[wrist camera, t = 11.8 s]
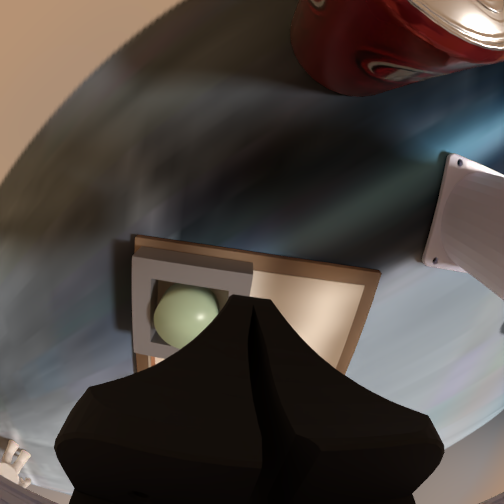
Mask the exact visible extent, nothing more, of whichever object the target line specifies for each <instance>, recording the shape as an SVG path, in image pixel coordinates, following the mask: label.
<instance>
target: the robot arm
mask: <svg viewBox="0 0 504 504" xmlns="http://www.w3.org/2000/svg"><path fill="white" fill-rule="evenodd" d="M458 160H459V161H460V164H459V166H458V164H457V161H458ZM435 257H436V260H435V261H434V262H433V259H434V258H435ZM422 262H423V263H424V264H425V265H426V266H429V267H435V268H441V269H447V270H453V271H458V272H464V273H469V274H470V275H472V276H473V277H474V278H476V279H477V280H478V281H480V282H481V283H482V284H484V285H485V286H486V287H487V288H489V289H490V290H491V291H493V292H494V293H495V294H496V295H498V296H499V297H500V298H501V299H503V300H504V175H503V174H501V173H499V172H497V171H495V170H492V169H490V168H488V167H486V166H484V165H481V164H479V163H477V162H474V161H472V160H470V159H467V158H465V157H462V156H460V155H457V154H454V153H450V154H449V155H448V156H447V159H446V164H445V169H444V174H443V179H442V184H441V189H440V193H439V197H438V202H437V206H436V210H435V214H434V218H433V222H432V225H431V229H430V233H429V236H428V240H427V243H426V247H425V250H424V253H423V257H422ZM54 449H55V452H56V455H57V458H58V460H59V462H60V464H61V466H62V468H63V469H64V471H65V473H66V475H67V476H68V478H69V480H70V481H71V483H72V485H73V486H74V488H75V489H74V491H73V494H72V497H71V499H70V502H69V504H415V500H414V498H413V495H412V493H413V492H414V491H415V490H416V489H417V488H418V487H419V486H420V485H421V484H422V483H423V482H424V481H425V480H426V479H427V478H428V477H429V476H430V475H431V474H432V473H433V472H434V470H435V469H436V468H437V466H438V465H439V464H440V462H441V459H442V457H443V454H444V445H443V443H442V441H441V439H440V437H439V435H438V433H437V431H436V429H435V427H434V425H433V423H432V421H431V420H430V418H429V416H428V415H425V414H422V413H420V412H417V411H414V410H412V409H409V408H406V407H404V406H401V405H398V404H396V403H394V402H391V401H389V400H387V399H385V398H383V397H381V396H379V395H377V394H375V393H373V392H371V391H369V390H368V389H366V388H364V387H362V386H361V385H359V384H357V383H356V382H354V381H353V380H351V379H350V378H348V377H347V376H345V375H344V374H342V373H341V372H339V371H338V370H337V369H335V368H334V367H333V366H331V365H330V364H329V363H328V362H327V361H325V360H324V359H323V358H322V357H321V356H319V355H318V354H317V353H316V352H315V351H314V350H313V349H312V348H311V347H310V346H309V345H308V344H307V343H306V342H305V341H304V340H303V339H302V338H301V337H300V336H299V335H298V334H297V332H296V331H295V330H294V329H293V328H292V327H291V325H290V324H289V323H288V322H287V320H286V319H285V318H284V316H283V315H282V314H281V312H280V311H279V310H278V308H277V307H276V306H275V304H274V303H273V302H272V300H271V299H264V298H257V297H250V296H243V295H235V294H232V295H231V296H229V298H228V300H227V302H226V304H225V305H224V307H223V308H222V310H221V311H220V312H219V313H218V315H217V316H216V317H215V318H214V319H213V321H212V322H211V323H210V324H209V325H208V326H207V327H206V328H205V329H204V330H203V331H202V332H201V333H200V334H199V335H198V336H197V337H195V338H194V339H193V340H192V341H191V342H189V343H188V344H187V345H185V346H184V347H183V348H181V349H180V350H179V351H177V352H176V353H174V354H172V355H171V356H169V357H168V358H166V359H164V360H163V361H161V362H159V363H157V364H155V365H153V366H151V367H149V368H147V369H145V370H142V371H140V372H137V373H135V374H132V375H129V376H127V377H124V378H120V379H117V380H114V381H110V382H106V383H103V384H99V385H95V386H91V387H89V388H88V389H87V390H86V392H85V393H84V394H83V396H82V397H81V398H80V399H79V400H78V402H77V403H76V405H75V406H74V407H73V409H72V410H71V412H70V414H69V415H68V417H67V419H66V421H65V423H64V425H63V427H62V428H61V430H60V432H59V434H58V436H57V438H56V440H55V445H54ZM0 504H57V503H55V502H53V501H51V500H48V499H46V498H44V497H42V496H40V495H38V494H35V493H33V492H31V491H29V490H27V489H26V488H24V487H22V486H20V485H18V484H16V483H14V482H12V481H11V480H9V479H7V478H5V477H3V476H2V475H0ZM479 504H504V492H503V493H501V494H499V495H497V496H495V497H493V498H491V499H488V500H486V501H484V502H482V503H479Z"/></svg>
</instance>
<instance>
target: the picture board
mask: <svg viewBox="0 0 504 504" xmlns="http://www.w3.org/2000/svg"><path fill="white" fill-rule="evenodd" d="M141 246H144V247H150V248H157V249H163V250H170V251H177V252H183V253H190V254H197V255H203V256H210V257H217V258H223V259H230V260H237V261H244V262H251V263H253V279H252V285H251V291H250V297H257V298H264V299H271V300H272V302H273V303H274V304H275V306H276V307H277V308H278V310H279V311H280V312H281V314H282V315H283V316H284V318H285V319H286V320H287V322H288V323H289V324H290V325H291V327H292V328H293V329H294V330H295V331H296V332H297V334H298V335H299V336H300V337H301V338H302V339H303V340H304V341H305V342H306V343H307V344H308V345H309V346H310V347H311V348H312V349H313V350H314V351H315V352H316V353H317V354H318V355H319V356H321V357H322V358H323V359H324V360H325V361H327V362H328V363H329V364H330V365H331V366H333V367H334V368H335V369H337V370H338V371H339V372H341V373H342V374H344V375H345V373H346V371H347V368H348V366H349V363H350V361H351V358H352V356H353V353H354V351H355V348H356V346H357V343H358V340H359V338H360V335H361V332H362V330H363V327H364V324H365V321H366V319H367V316H368V313H369V310H370V307H371V304H372V301H373V298H374V295H375V292H376V289H377V286H378V283H379V280H380V277H381V272H380V271H379V270H374V269H367V268H361V267H354V266H347V265H340V264H333V263H327V262H320V261H313V260H306V259H300V258H293V257H286V256H279V255H272V254H266V253H259V252H252V251H245V250H239V249H232V248H225V247H218V246H211V245H205V244H198V243H191V242H184V241H177V240H171V239H164V238H157V237H150V236H143V235H137V236H136V237H135V253H136V251H137V250H138V249H139V248H140V247H141ZM173 284H175V282H169V281H163V280H158V301H157V306H158V304H159V302H160V301H161V299H162V297H163V295H164V293H165V291H166V290H167V289H168V288H169V287H170V286H172V285H173ZM209 289H210V290H211V291H212V292H213V293H214V295H215V296H216V298H217V300H218V302H219V306H220V311H221V310H222V308H223V307H224V305H225V304H226V302H227V300H228V294H229V291H227V290H220V289H213V288H209ZM163 360H164V359H163V358H158V357H153V356H148V355H143V354H138V353H136V361H137V372H140V371H142V370H145V369H147V368H149V367H151V366H153V365H155V364H157V363H159V362H161V361H163Z"/></svg>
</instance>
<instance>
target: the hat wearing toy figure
mask: <svg viewBox="0 0 504 504" xmlns="http://www.w3.org/2000/svg"><path fill="white" fill-rule="evenodd" d="M18 448H19V445H18V444H17V443H16V442H15V441H13V440H9V441H8V446H7V448H6V451H5V453H4V455H3V457H2V460H1V463H0V475H2V476H3V477H5V478H7V479H9V480H11V481H12V482H14V483H16V484H18V483H19V476H18V474H19V473H20V470H21V469H22V467H23V465H24V464H25V463H26V461H27V460H28V459H29V458H30V456H31V455H30V454H29V453H28V452H27V451H25V450H23V449H22V450H21V452H20V454H19V456H18V458H17V460H16V461H15V462H14V463H13V464H11V460H12V456H13V454H14V453H15V452H16V450H17V449H18ZM20 481H21V483H20V484H18V485H20V486H22V487H24V488H26V487H27V486H28V485H30V484H31V479H30V478H28V480H27V478H25V480H23V479H22V477H21V478H20Z"/></svg>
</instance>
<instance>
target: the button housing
mask: <svg viewBox="0 0 504 504" xmlns="http://www.w3.org/2000/svg"><path fill="white" fill-rule="evenodd" d="M252 279H253V263H251V262H244V261H237V260H230V259H223V258H217V257H210V256H203V255H197V254H190V253H183V252H177V251H170V250H163V249H157V248H150V247H144V246H141V247H140V248H139V249H138V250H137V251H136V253H135V254H134V255H133V256H132V324H133V345H134V353H138V354H143V355H148V356H153V357H158V358H163V359H166V358H168V357H169V356H171V355H172V354H174V353H176V352H177V351H179V350H180V349H178V348H175V347H173V346H171V345H169V344H168V343H166V342H165V341H164V340H163V339H162V338H161V337H160V336H159V334H158V333H157V331H156V329H155V326H154V313H155V310H156V308H157V301H158V280H163V281H169V282H175V283H181V284H187V285H194V286H200V287H207V288H213V289H220V290H227V291H229V294H228V298H229V296H231V295H232V294H235V295H243V296H250V291H251V285H252Z"/></svg>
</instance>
